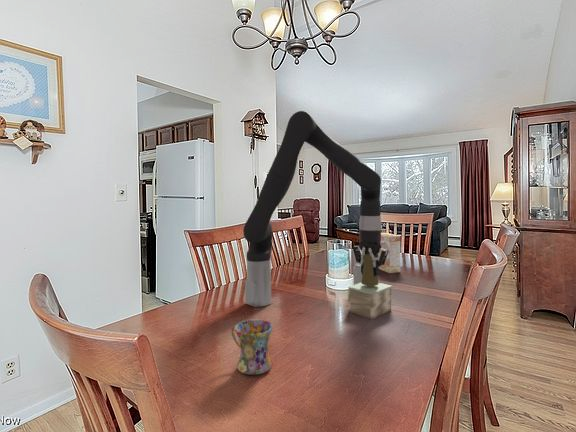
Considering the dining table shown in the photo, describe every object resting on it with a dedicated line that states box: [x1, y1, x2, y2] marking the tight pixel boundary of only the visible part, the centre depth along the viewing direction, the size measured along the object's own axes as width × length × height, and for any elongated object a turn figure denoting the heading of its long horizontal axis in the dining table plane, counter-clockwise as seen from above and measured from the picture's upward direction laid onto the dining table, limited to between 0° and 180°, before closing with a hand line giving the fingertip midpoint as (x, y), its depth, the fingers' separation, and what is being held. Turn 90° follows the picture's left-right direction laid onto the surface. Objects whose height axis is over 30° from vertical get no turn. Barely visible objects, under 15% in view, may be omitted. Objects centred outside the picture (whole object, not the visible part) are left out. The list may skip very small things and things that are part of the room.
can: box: [352, 262, 362, 285], centre depth 143 cm, size 8×8×12 cm
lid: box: [348, 282, 393, 295], centre depth 121 cm, size 12×10×1 cm
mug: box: [230, 318, 274, 376], centre depth 83 cm, size 12×9×11 cm
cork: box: [361, 253, 380, 286], centre depth 120 cm, size 6×6×11 cm
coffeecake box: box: [378, 232, 402, 274], centre depth 182 cm, size 15×7×20 cm, turn 17°
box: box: [347, 288, 392, 320], centre depth 121 cm, size 12×10×8 cm
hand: (369, 275), depth 120 cm, fingers closed on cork, 4 cm apart
